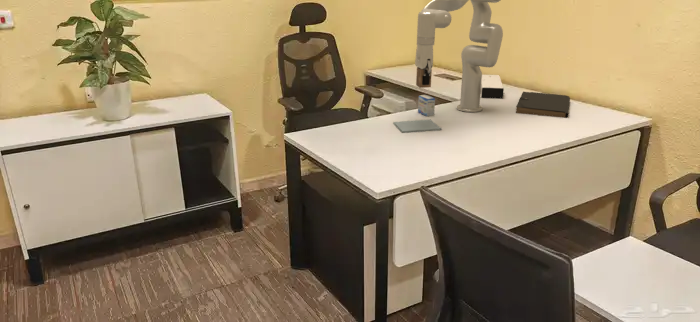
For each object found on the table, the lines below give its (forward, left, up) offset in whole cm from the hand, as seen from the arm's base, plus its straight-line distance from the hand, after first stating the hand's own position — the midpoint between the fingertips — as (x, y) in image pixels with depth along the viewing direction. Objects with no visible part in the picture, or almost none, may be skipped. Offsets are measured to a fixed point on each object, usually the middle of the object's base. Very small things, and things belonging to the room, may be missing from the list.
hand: (423, 83), depth 233 cm
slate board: (0, -2, -20) cm, 20 cm away
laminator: (-55, +60, -21) cm, 84 cm away
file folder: (-17, +71, -21) cm, 76 cm away
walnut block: (0, 0, -1) cm, 1 cm away
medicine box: (-19, +9, -20) cm, 29 cm away
